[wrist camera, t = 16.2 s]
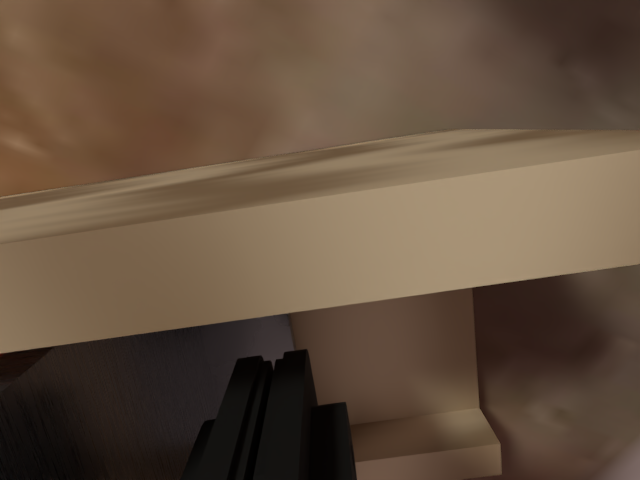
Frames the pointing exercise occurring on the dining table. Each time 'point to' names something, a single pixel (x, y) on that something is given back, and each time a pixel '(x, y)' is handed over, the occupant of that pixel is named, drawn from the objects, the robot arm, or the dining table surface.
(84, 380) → the bookend
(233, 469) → the robot arm
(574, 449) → the dining table surface
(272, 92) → the dining table surface
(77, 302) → the rack
